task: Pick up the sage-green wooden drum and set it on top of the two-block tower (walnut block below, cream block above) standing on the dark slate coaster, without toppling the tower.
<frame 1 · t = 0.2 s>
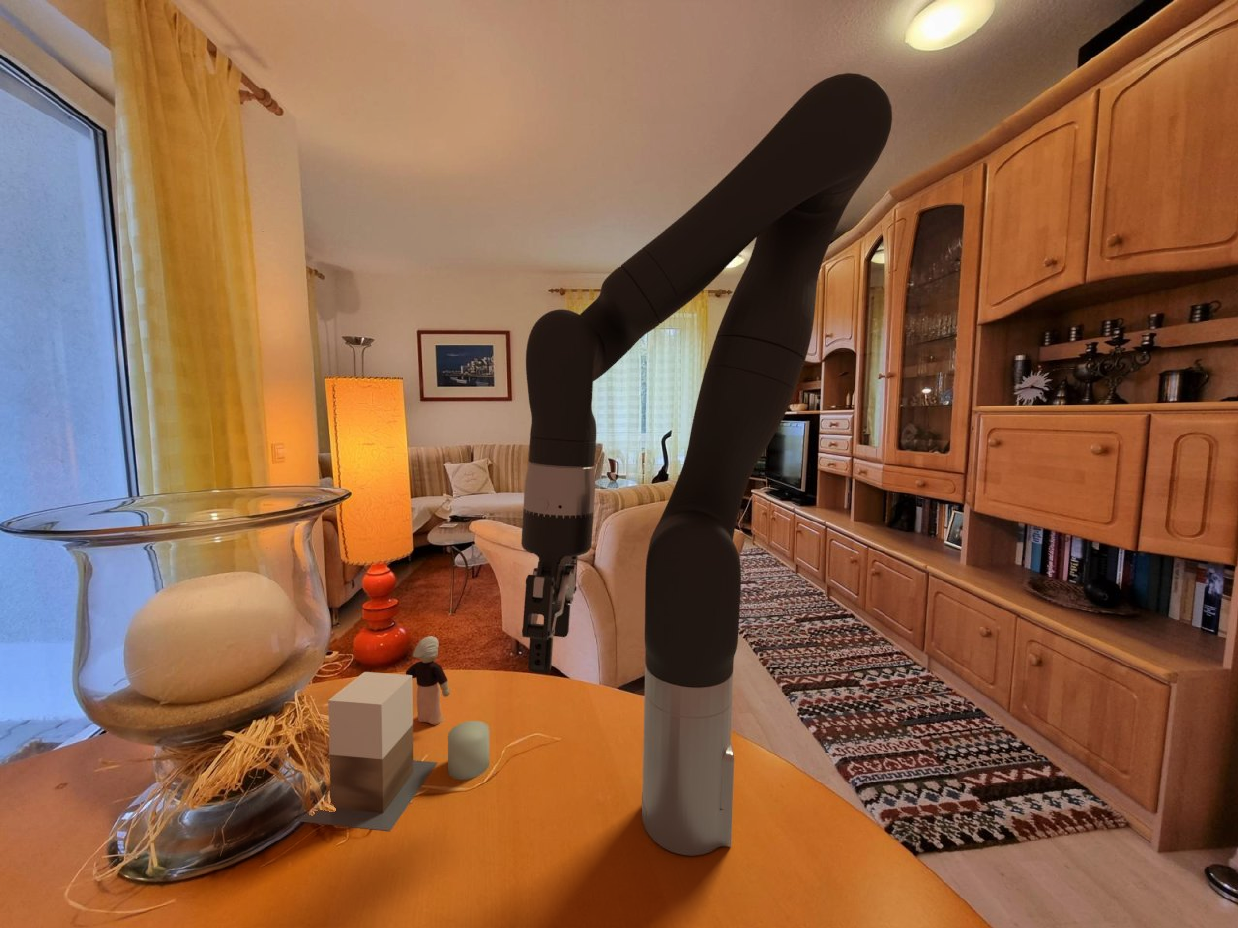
hand: (549, 651, 51), 18 cm above the table, tool pointing down, fingers open, 8 cm apart
tower base: (374, 789, 53), point 1 cm above the table, touching coaster, tower top
drum: (468, 771, 57), on the table
grandmother figurine: (428, 725, 66), on the table
coaster: (374, 795, 53), on the table
tower top: (373, 738, 53), point 7 cm above the table, touching tower base
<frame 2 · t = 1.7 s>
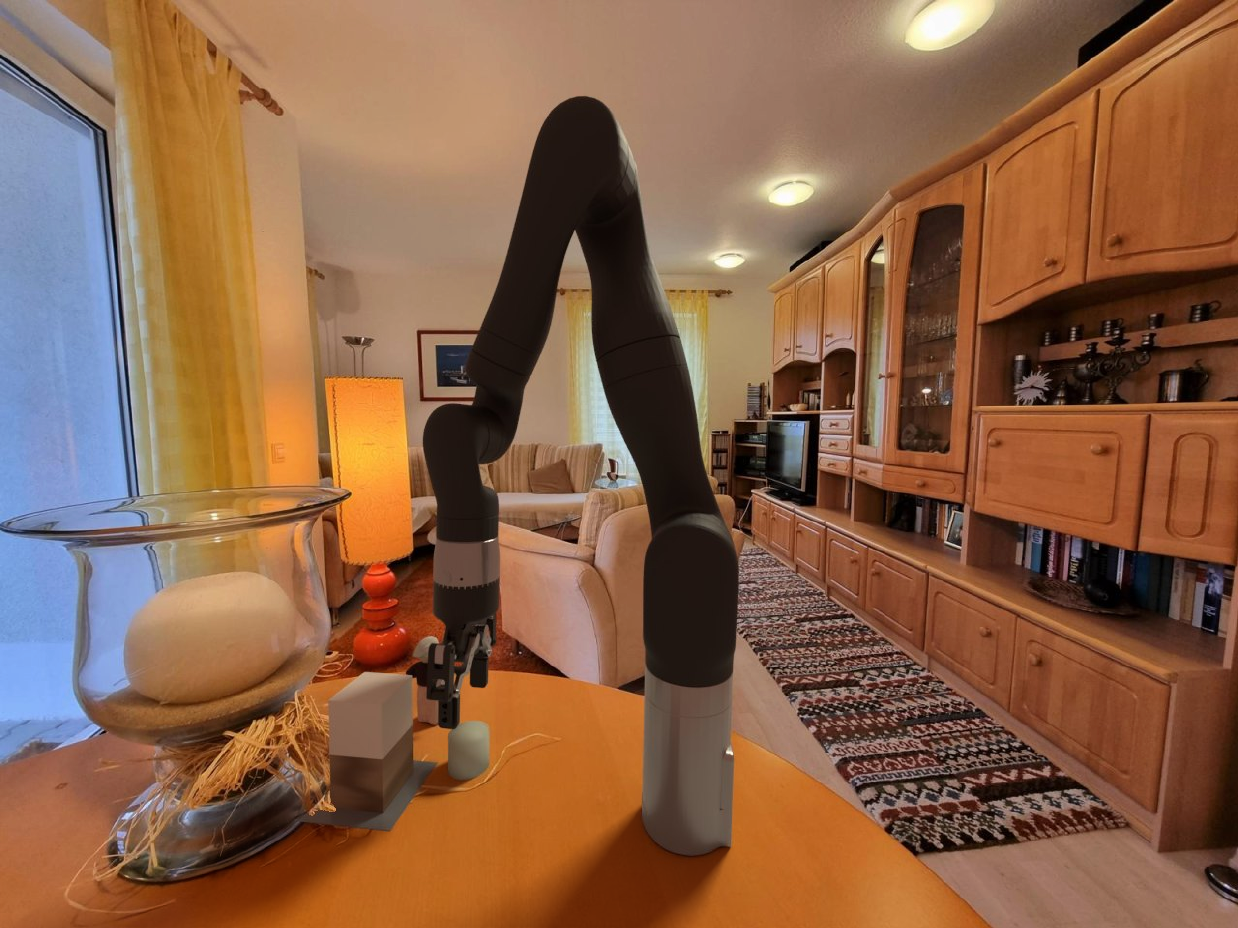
hand: (465, 704, 57), 8 cm above the table, tool pointing down, fingers open, 8 cm apart
nothing on the table moved.
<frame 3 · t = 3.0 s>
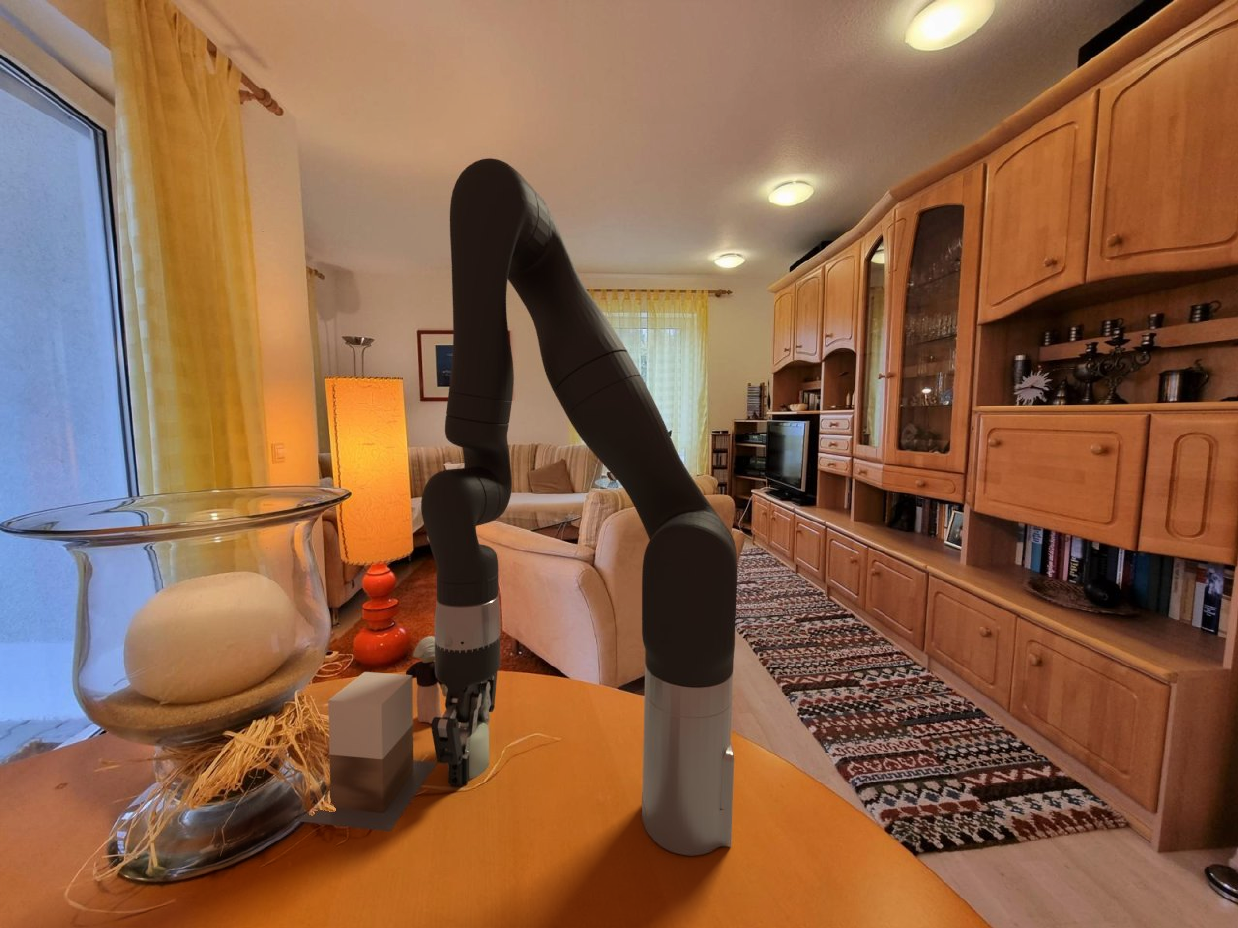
hand: (468, 768, 57), 0 cm above the table, tool pointing down, fingers closed on drum, 4 cm apart
drum: (468, 771, 57), on the table, touching gripper
everything else where it was.
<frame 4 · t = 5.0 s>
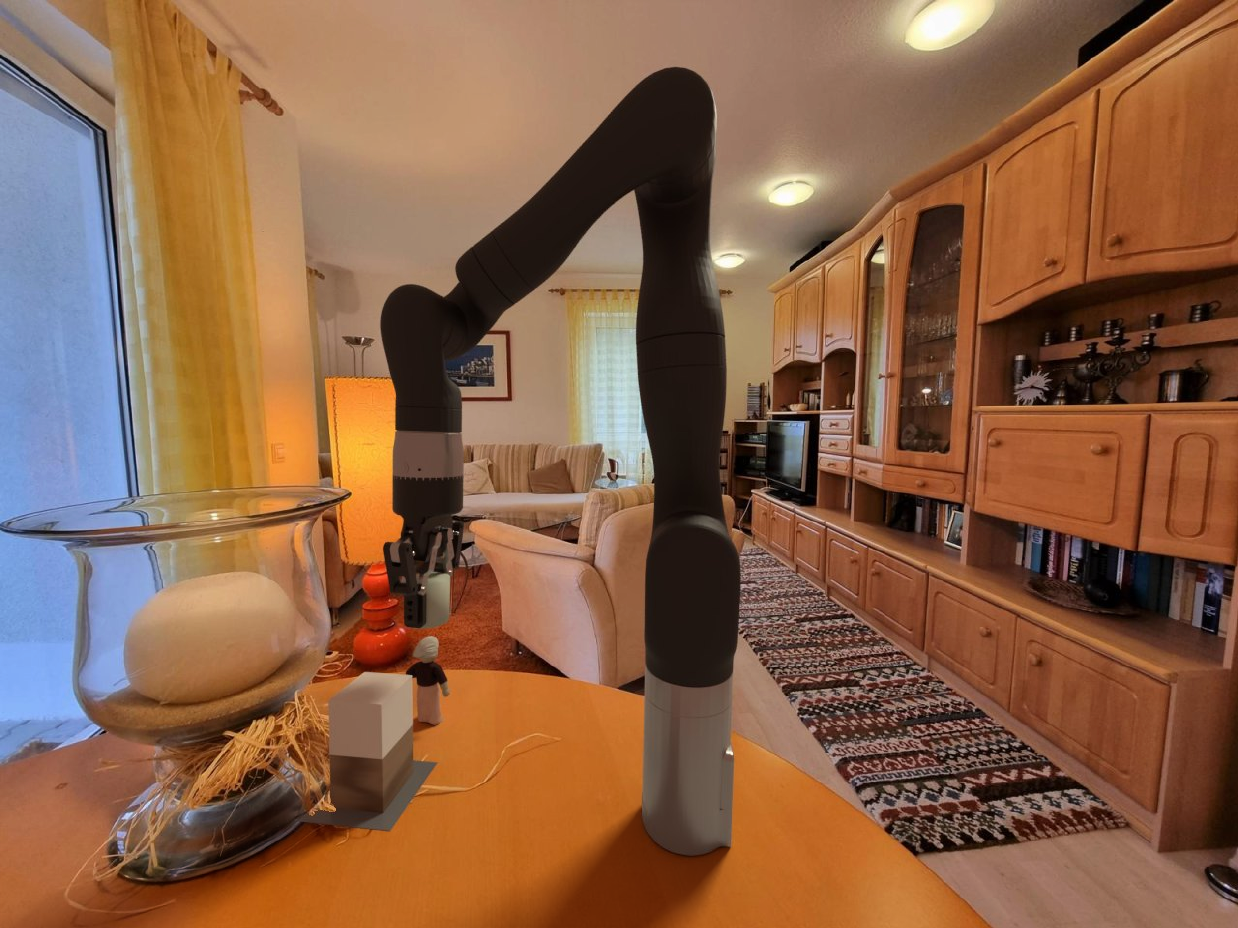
hand: (427, 616, 54), 20 cm above the table, tool pointing down, fingers closed on drum, 4 cm apart
drum: (427, 620, 55), point 19 cm above the table, touching gripper
everything else where it was.
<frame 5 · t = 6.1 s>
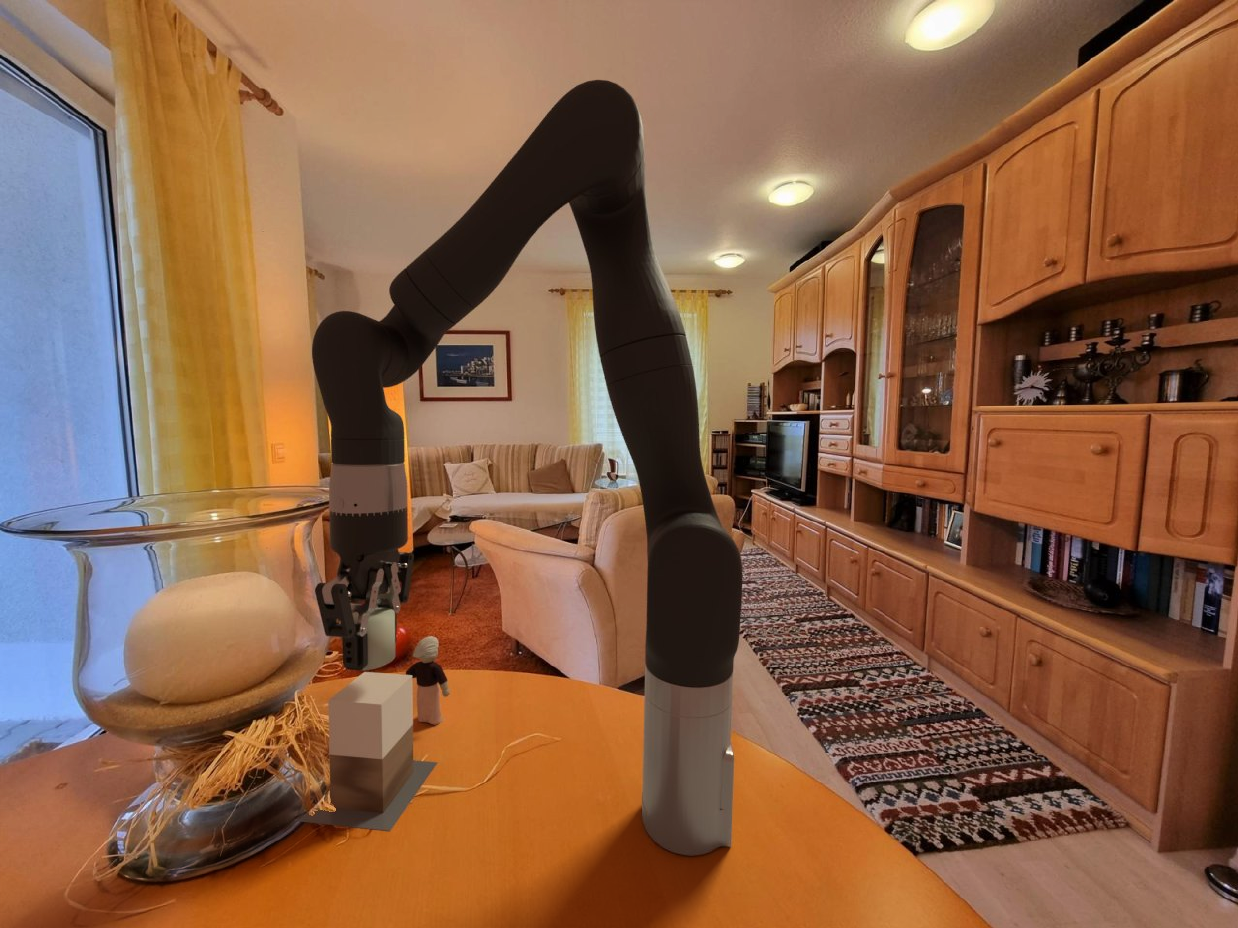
hand: (371, 655, 52), 16 cm above the table, tool pointing down, fingers closed on drum, 4 cm apart
drum: (371, 659, 52), point 16 cm above the table, touching gripper
everything else where it was.
when the fingers open (14 cm above the table, at t = 7.0 s): drum stays where it is, resting on tower top.
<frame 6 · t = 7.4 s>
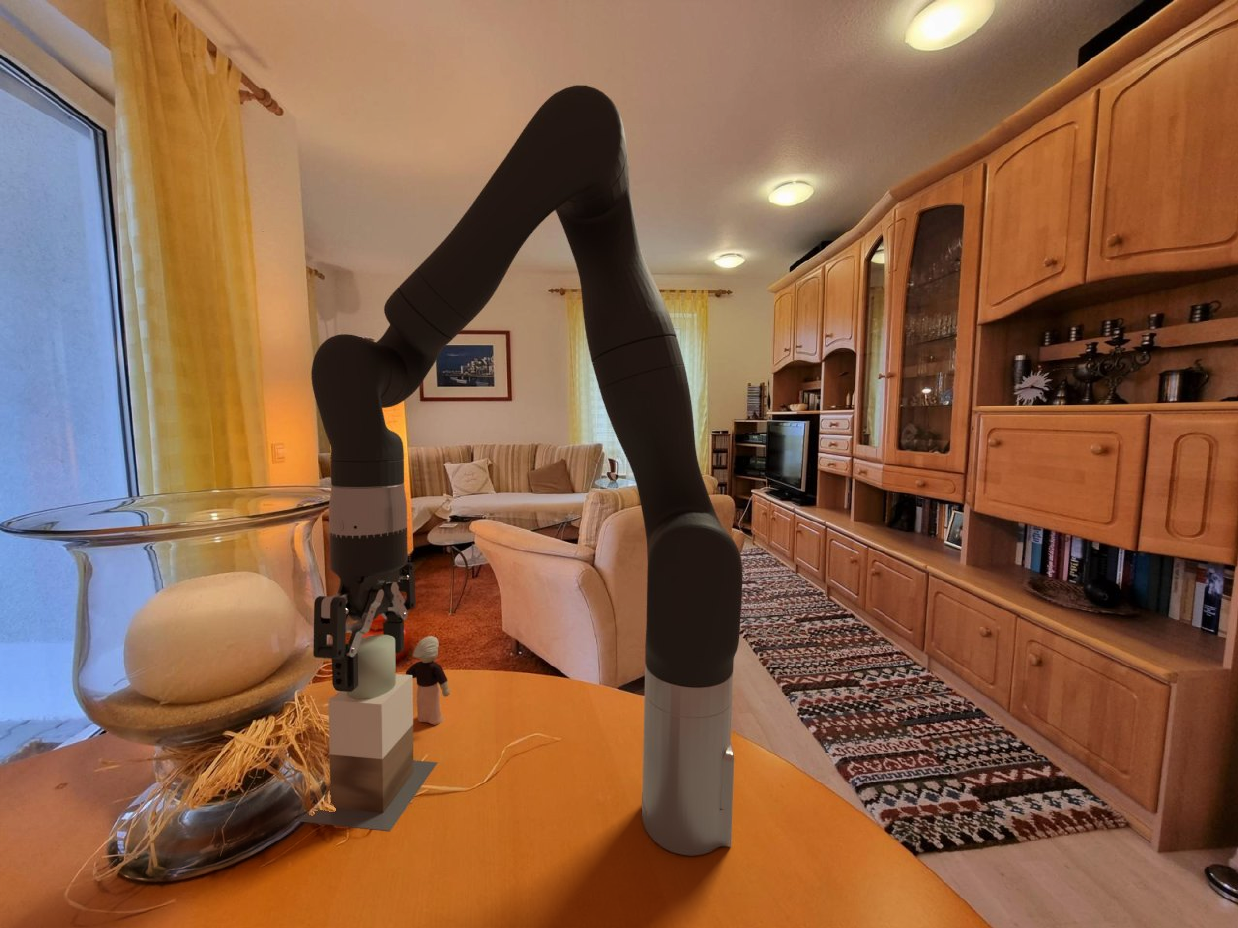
hand: (372, 669, 52), 15 cm above the table, tool pointing down, fingers open, 8 cm apart
drum: (371, 687, 52), point 13 cm above the table, touching tower top
tower top: (373, 738, 53), point 7 cm above the table, touching drum, tower base
everything else where it was.
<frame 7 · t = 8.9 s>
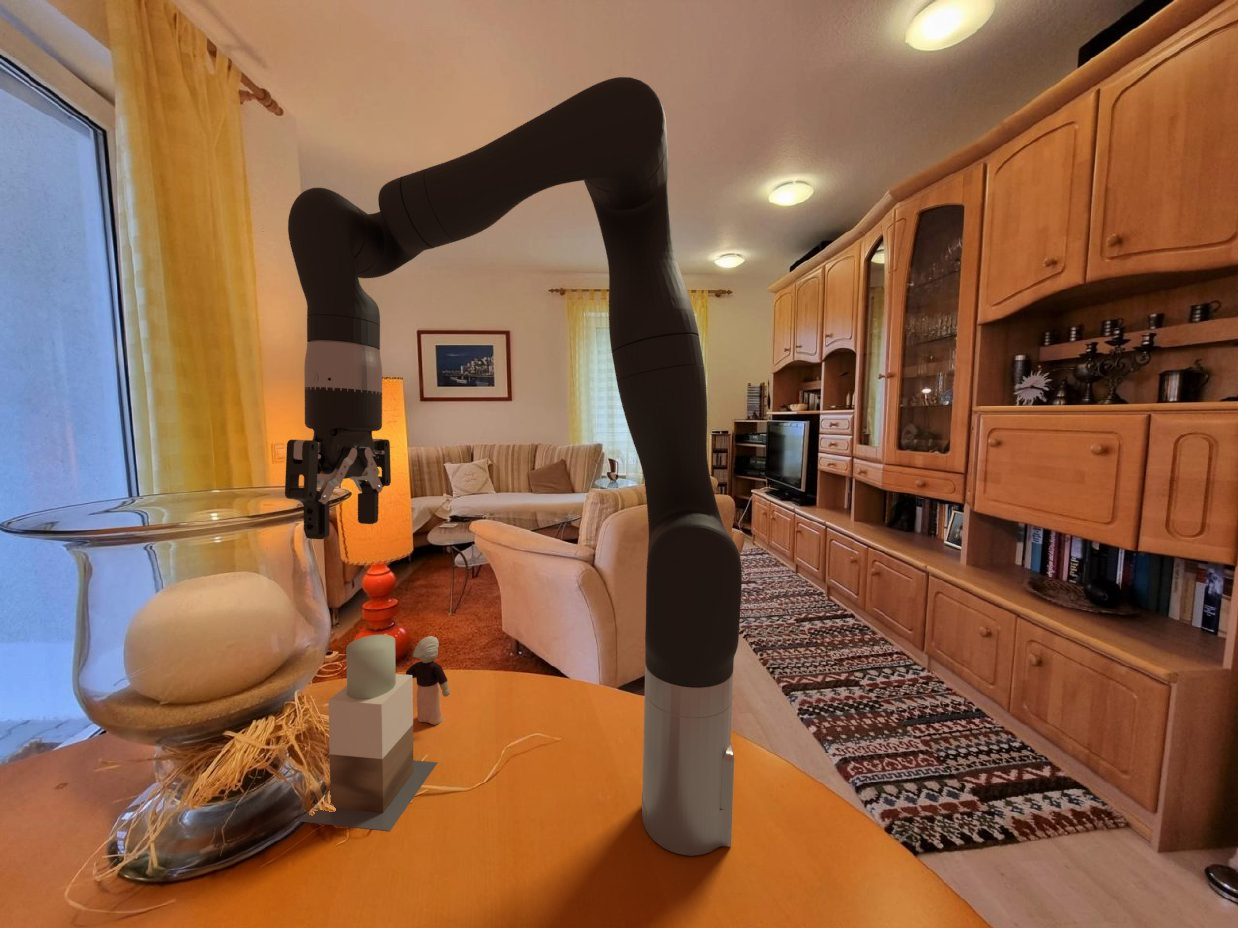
hand: (344, 530, 54), 30 cm above the table, tool pointing down, fingers open, 8 cm apart
nothing on the table moved.
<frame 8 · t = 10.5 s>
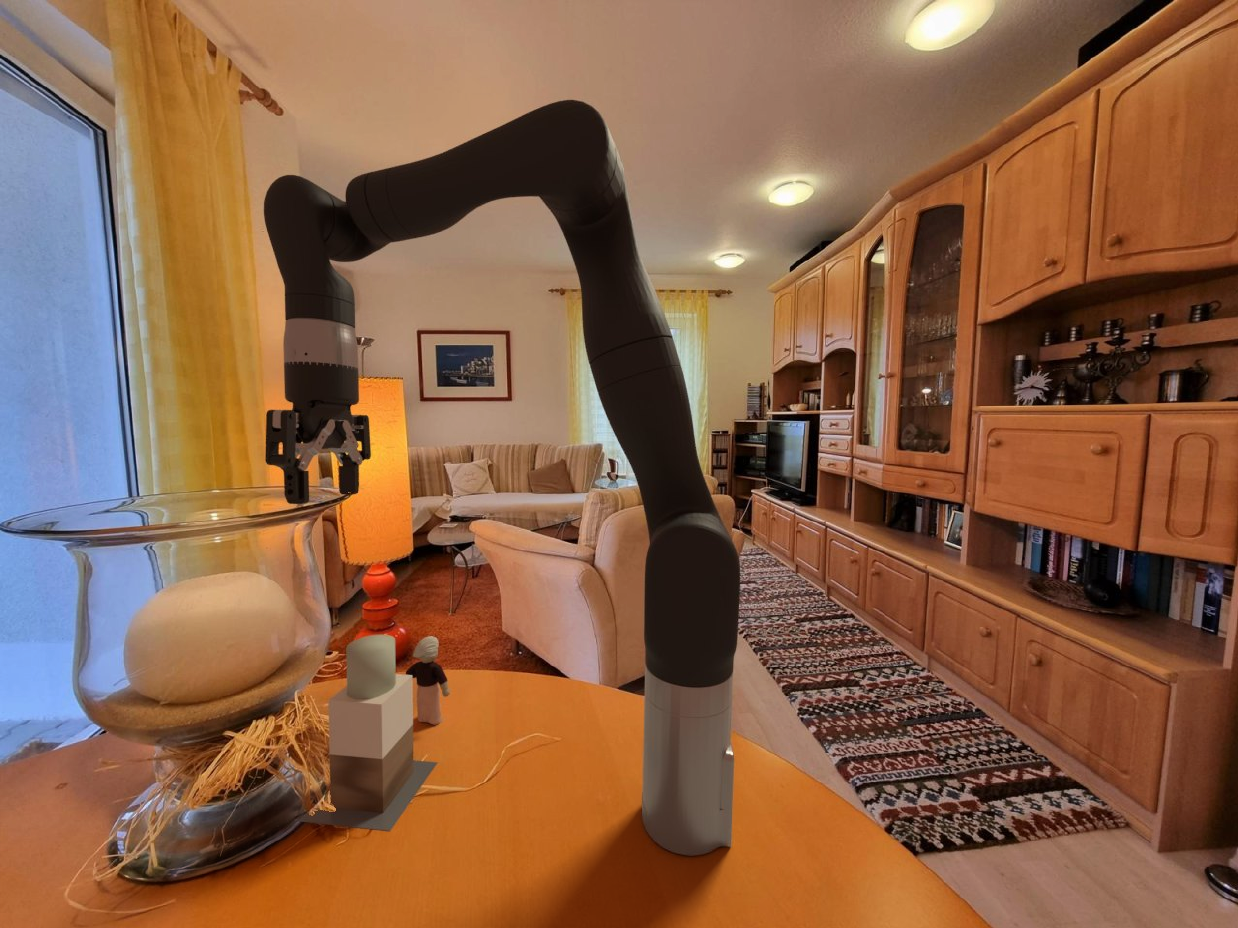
hand: (325, 498, 57), 33 cm above the table, tool pointing down, fingers open, 8 cm apart
nothing on the table moved.
at the end: drum 0.0 cm off-centre on the tower base, point 12.0 cm above the tower base's base; tower top tilted 0°; the gripper is holding nothing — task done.
